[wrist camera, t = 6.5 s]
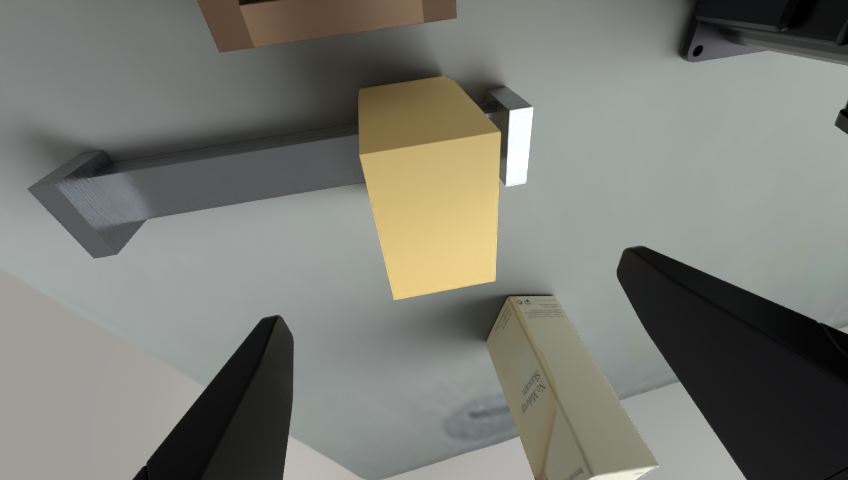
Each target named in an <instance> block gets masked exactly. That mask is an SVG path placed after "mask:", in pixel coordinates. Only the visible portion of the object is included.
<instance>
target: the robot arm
mask: <svg viewBox="0 0 848 480" xmlns="http://www.w3.org/2000/svg"><path fill="white" fill-rule="evenodd" d="M696 47H697V49H696V51H695V52H694V53H693V51H694V49H695V48H696ZM768 50H769V51H774V52H779V53H784V54H790V55H795V56H800V57H805V58H811V59H816V60H821V61H826V62H832V63H837V64H842V65H847V66H848V0H699V1H698V4H697V7H696V10H695V13H694V16H693V19H692V22H691V25H690V28H689V31H688V34H687V37H686V40H685V43H684V46H683V49H682V54H681V56H682V59H684V60H685V61H689V62H698V61H705V60H711V59H717V58H724V57H730V56H736V55H743V54H749V53H755V52H762V51H768ZM835 126H837V127H838V128H840V129H841V130H842V131H844V132H845V133H846V134H848V101H847V103H846V106H845V108H844V109H842V110H840V112H839V114H838V117H837V119H836V122H835ZM617 277H618V280H619V282H620V284H621V286H622V288H623V289H624V291H625V293H626V295H627V297H628V299H629V301H630V303H631V304H632V306H633V308H634V310H635V312H636V314H637V316H638V318H639V319H640V321H641V323H642V325H643V326H644V328H645V330H646V331H647V333H648V334H649V336H650V337H651V339H652V340H653V342H654V343H655V345H656V346H657V348H658V349H659V351H660V352H661V354H662V355H663V357H664V358H665V360H666V361H667V363H668V364H669V366H670V367H671V369H672V370H673V371H674V373H675V374H676V376H677V377H678V379H679V380H680V382H681V383H682V385H683V386H684V388H685V389H686V391H687V392H688V394H689V395H690V397H691V398H692V400H693V401H694V402H695V404H696V405H697V407H698V408H699V410H700V411H701V413H702V414H703V416H704V417H705V419H706V420H707V422H708V423H709V425H710V426H711V428H712V429H713V430H714V432H715V434H716V435H717V436H718V438H719V439H720V441H721V442H722V444H723V445H724V447H725V448H726V450H727V451H728V453H729V454H730V456H731V457H732V459H733V460H734V462H735V463H736V465H737V466H738V468H739V469H740V470H741V472H742V473H743V475H744V476H745V478H746V479H747V480H848V334H846V333H844V332H841V331H839V330H837V329H835V328H833V327H830V326H828V325H826V324H823V323H818V322H817V321H816V320H814V319H811V318H809V317H807V316H805V315H802V314H800V313H798V312H795V311H793V310H791V309H788V308H786V307H784V306H781V305H779V304H777V303H774V302H772V301H770V300H767V299H765V298H763V297H760V296H758V295H756V294H753V293H751V292H749V291H747V290H744V289H742V288H740V287H737V286H735V285H733V284H730V283H728V282H726V281H723V280H721V279H719V278H716V277H714V276H712V275H709V274H707V273H705V272H702V271H700V270H698V269H695V268H693V267H691V266H688V265H686V264H684V263H682V262H679V261H677V260H675V259H672V258H670V257H668V256H665V255H663V254H661V253H658V252H656V251H654V250H651V249H649V248H647V247H644V246H635V247H630V248H626V249H625V250H624V251H623V253H622V256H621V259H620V262H619V265H618V268H617ZM293 355H294V341H293V336H292V333H291V332H290V330H289V328H288V326H287V325H286V323H285V321H284V320H283V318H282V317H281V316H280V315H275V316H270V317H265V318H263V319H262V320H260V322H259V323H258V324H257V325H256V327H255V328H254V329H253V330H252V332H251V333H250V334H249V335H248V337H247V338H246V339H245V340H244V342H243V343H242V344H241V345H240V346H239V348H238V349H237V350H236V351H235V353H234V354H233V355H232V356H231V358H230V359H229V360H228V361H227V363H226V364H225V365H224V366H223V368H222V369H221V370H220V371H219V373H218V374H217V375H216V376H215V378H214V379H213V380H212V381H211V383H210V384H209V385H208V386H207V388H206V389H205V390H204V391H203V393H202V394H201V395H200V396H199V398H198V399H197V400H196V401H195V402H194V404H193V405H192V406H191V408H190V409H189V410H188V411H187V412H186V414H185V415H184V416H183V418H182V419H181V420H180V421H179V423H178V424H177V425H176V426H175V427H174V429H173V430H172V431H171V432H170V434H169V435H168V436H167V437H166V439H165V440H164V441H163V443H162V444H161V445H160V446H159V447H158V449H157V450H156V451H155V452H154V454H153V455H152V456H151V457H150V459H149V460H148V461H147V464H146V465H147V466H143V467H142V468H141V470H140V471H139V472H138V473H137V475H136V476H135V477H134V478H133V480H283V473H284V465H285V458H286V450H287V442H288V435H289V427H290V419H291V412H292V402H293Z"/></svg>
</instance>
